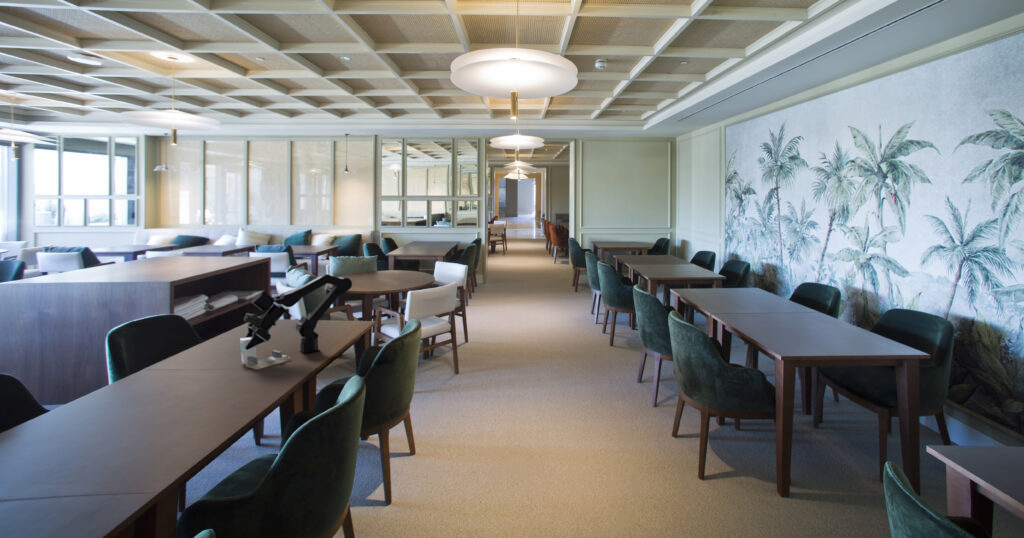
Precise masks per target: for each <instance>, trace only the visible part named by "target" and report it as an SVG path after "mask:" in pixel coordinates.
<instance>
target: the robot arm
mask: <svg viewBox="0 0 1024 538" xmlns="http://www.w3.org/2000/svg"><path fill="white" fill-rule="evenodd" d="M327 284H329V285H332V286H331V290H330V291H329V292H328V293H327V295H325V296H324V298H323V299H322V300H321V301H320V302H319V303H318V305H316V307H315V308H314V309H313V311H312V312H311V313H310V314H309V315H307V316H304V315H302V316H301V318H300V319H299V320H297V322H296V325H295V332H296V333H297V334H298V335H299V336H300V337H301V339H300V350H299V353H301V354H305V355H309V354H313V353H318V352H320V351H321V349H320V348H319V343H318V342H319V341H318V340H319V333H317V332H316V331H315V329H316V327H317V324H318V323H319V321H320V319H321V318H322V317H323V316H324V315H325V314H326V312H327V311H328V310H329V309H330V308H331V306H332V305H333V304H335V301H336V300H337V299H338V298H339V297H341V296H342V295H344V294H346V293H347V292H349V291H350V289H352V286H353V282H352V280H351V279H350V278H349V277H345V276H338V277H337V276H333V275H330V274H327V273H321V275H319V276H318V277H315V278H314V279H312V280H311V281H309V282H306V283H305V284H302V285H300V286H299V287H297V288H294V289H291V290H287V291H285V292H282V293H280V295H277V296H273V297H272V296H271V295H269V294H268V293H267V292H266V291H265V290H262V291H260V292H259V293H258V294H257V295H255V296H254V297H253V299H251V304H253V305H254V306H255V307H257V308H258V309H259V310H260V311H262V312H264V311H266V312H265V313H263V314H261V315H258V314H255V313H248V312H246V313H245V316H244V317H243V321H244V322H245V323H247V328H246V329H247V333H246V335H245V337H244V338H247V337H252V339H251V340H250V342H249V343H248V344H247V346H246V348H245V349H247V350H248V349H250V348H252V347H254V346H256V347H257V346H258V345H260V344H262V343H266V342H269V341H270V340H271V338H272V337H271V336H272V335H271V334H270V330H271V329H272V328H273V326H274V327H275V326H276V325H277V322H278V321H279V320H280V319H281V318H282V316H283V315H286V316H290V309H289V308H292V307H293V306H294V305H296V304H297V303H299V302H300V301H301V299H302V298H304V297H305V296H308V295H309V294H310V293H312V292H314V291H316V290H318V289H320V288H322V287H323V286H325V285H327ZM286 307H287V308H286Z"/></svg>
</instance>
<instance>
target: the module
mask: <svg viewBox="0 0 1024 538" xmlns="http://www.w3.org/2000/svg"><path fill="white" fill-rule="evenodd" d="M251 339H252V337H247V338H245V337H240V338H239V349H240V351H239V352H240V356H241V363H242V365H246V363H248V362H247V357H249V356H252V357H255V358H257V359H258V357H257V345H256V346H254V347H252V348H250V349H248V350H247V349H245V348H246V346H247V344H248V343H249V342H250V340H251Z"/></svg>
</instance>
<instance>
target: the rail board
mask: <svg viewBox="0 0 1024 538" xmlns="http://www.w3.org/2000/svg"><path fill="white" fill-rule="evenodd" d="M271 355H272V356H269V357H265V358H261V359H258V357H257V358H255V357H252V356H249V357H247V362H248V363H246V364H245V367H246V368H250V369H253V370H261V369H265V368H267V367H272V366H275V365H278V364H281V363H285V362H289V361H291V356H289V355H286V354H283V351H281V350H276V349H274V350H272V351H271Z"/></svg>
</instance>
